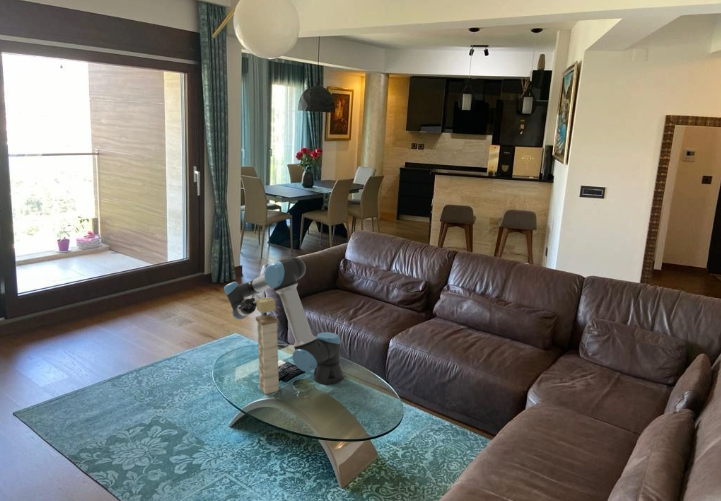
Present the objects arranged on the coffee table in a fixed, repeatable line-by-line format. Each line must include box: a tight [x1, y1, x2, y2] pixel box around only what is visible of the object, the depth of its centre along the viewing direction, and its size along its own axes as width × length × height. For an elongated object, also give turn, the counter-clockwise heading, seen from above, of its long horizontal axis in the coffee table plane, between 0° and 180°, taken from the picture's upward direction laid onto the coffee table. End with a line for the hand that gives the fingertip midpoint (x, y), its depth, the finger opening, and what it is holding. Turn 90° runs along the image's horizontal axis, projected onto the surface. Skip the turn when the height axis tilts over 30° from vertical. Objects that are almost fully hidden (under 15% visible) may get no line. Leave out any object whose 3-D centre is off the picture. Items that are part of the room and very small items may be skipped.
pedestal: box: [255, 313, 280, 395], centre depth 258 cm, size 8×8×36 cm
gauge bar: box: [251, 294, 276, 314], centre depth 257 cm, size 18×7×5 cm, turn 31°
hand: (260, 296), depth 257 cm, fingers closed on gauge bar, 2 cm apart
